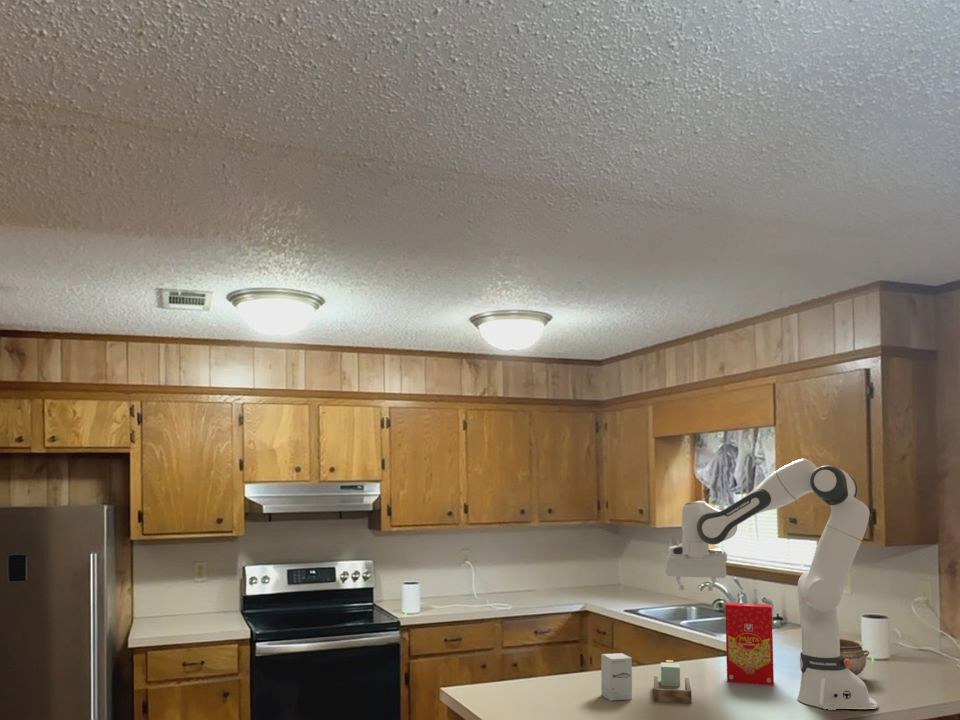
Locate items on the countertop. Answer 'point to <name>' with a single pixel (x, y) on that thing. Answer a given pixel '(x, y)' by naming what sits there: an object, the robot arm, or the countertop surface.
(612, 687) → the supplement box
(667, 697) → the lane
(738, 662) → the food packaging
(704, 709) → the countertop surface
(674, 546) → the robot arm
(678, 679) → the block
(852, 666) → the cooking pot
